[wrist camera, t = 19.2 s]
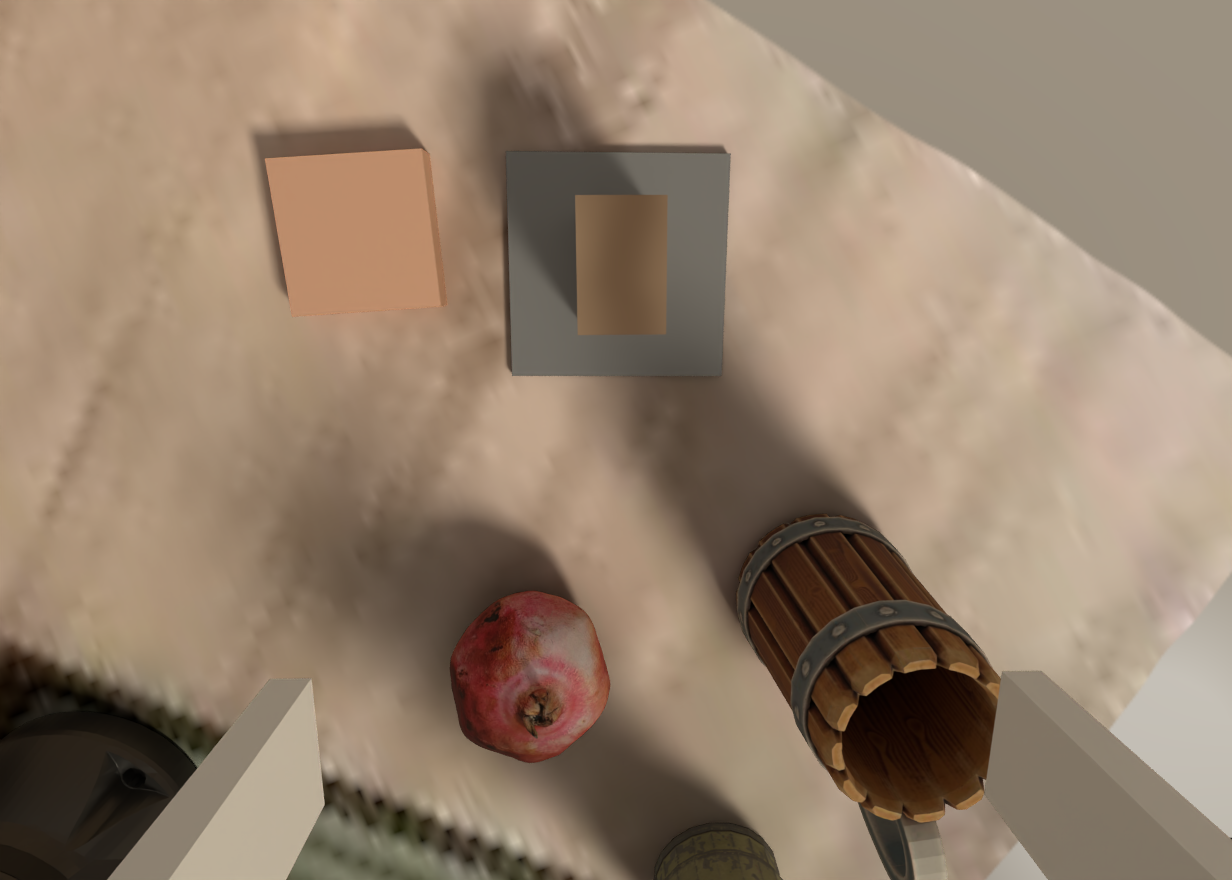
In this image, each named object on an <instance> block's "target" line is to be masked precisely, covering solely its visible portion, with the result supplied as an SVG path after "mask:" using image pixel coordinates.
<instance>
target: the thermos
mask: <svg viewBox="0 0 1232 880" xmlns="http://www.w3.org/2000/svg"><path fill="white" fill-rule="evenodd" d="M654 880H783V879H782V878H781V877H780V874H779V871H778V867H777V864H776V860H775V857H774V854H773V851H772V850H771V849H770V847H769V846H768V845H767V843H766V842H765V841H764V839H763V838H761V837H760V836H758V835H757V834H755V833H754V832H752V831H751V830H749V829H748V828H744V827H741V826H737V825H734V824H730V823H708V824H705V825H701V826H698V827H694V828H690V829H689V830H687V831H685V832H684V833H682V834H680V835H679V836H677V837H675V838H674V839H673V840H672V841H671V842H670V843H669V844H668V845H667V846H666V848H665V849H664V850H663V851H662V852H661V854H660V857H659V859H658V861H657V864H656V866H655V877H654Z"/></svg>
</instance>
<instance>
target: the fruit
mask: <svg viewBox="0 0 1232 880" xmlns="http://www.w3.org/2000/svg"><path fill="white" fill-rule="evenodd" d="M450 674H451V685H452V691H453V695H454V700H455V704H456V709H457V714H458V719H459V724H460V727H461V730H462V732H463V734H464V735H465V736H466V737H467V738H468V739H469V740H470V741H472V742H473V743H475V744H476V745H478V746H480V747H482V748H485V749H488V750H491V751H494V752H497V753H500V754H503V755H506V756H509V757H512V758H515V759H517V760H520V761H523V762H528V763H535V762H540V761H543V760H546V759H549V758H552V757H555V756H557V755H559V754H561V753H562V752H563V751H565V750H566V749H567V748H568V747H569V746H570V745H571V744H572V743H573V742H574V741H576V740H577V739H578V738H579V737H581V736H582V735H583V734H584V733H585V732H586V731H587V730H588V729H589V728H591V727H592V725H593V724H594V723H595V722H596V721H597V719H598V718H599V716H600V715H601V713H602V711H603V709H604V708H605V705H606V703H607V699H608V695H609V690H610V680H609V675H608V671H607V668H606V664H605V660H604V657H603V653H602V650H601V647H600V644H599V640H598V638H597V635H596V631H595V628H594V626H593V623H592V621H591V619H590V618H589V616H588V615H587V614H586V612H585V611H583V610H582V609H581V608H580V607H578V606H577V605H575V604H573V603H571V602H570V601H568V600H566V599H564V598H561V597H559V596H555V595H550V594H546V593H543V592H539V591H525V592H518V593H514V594H511V595H509V596H506V597H503V598H501V599H499V600H497V601H496V602H494V603H493V604H492V605H490V606H489V607H488V608H487V609H486V610H485V611H484V612H482V613H481V614H480V615H479V616H478V617H477V618H476V619H475V620H474V621H473V622H472V623H471V625H470V626H469V627H468V628H467V629H466V631H465V632H464V634H463V635H462V637H461V639H460V640H459V642H458V643H457V645H456V647H455V649H454V651H453V654H452V656H451V662H450Z"/></svg>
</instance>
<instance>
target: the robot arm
mask: <svg viewBox="0 0 1232 880" xmlns="http://www.w3.org/2000/svg"><path fill="white" fill-rule="evenodd" d="M984 795H985V796H986V797H987V799H988V800H989V801H990V803H991V804H992V805H993V807H994V808H995V809H996V811H997V812H998V813H999V815H1000V816H1001V817H1002V819H1003V820H1004V821H1005V823H1006V824H1007V825H1008V827H1009V828H1010V830H1011V831H1012V832H1013V834H1014V835H1015V836H1016V838H1017V839H1018V840H1019V842H1020V843H1021V844H1022V845H1023V847H1024V848H1025V850H1026V851H1027V852H1028V853H1029V855H1030V856H1031V858H1032V859H1033V860H1034V862H1035V863H1036V864H1037V866H1038V867H1039V868H1040V870H1041V871H1042V872H1043V873H1044V875H1045V876H1046V878H1047V879H1048V880H1232V838H1229V837H1228V836H1227V835H1226V834H1225V833H1224V832H1222V831H1221V830H1220V829H1219V828H1218V827H1217V826H1216V825H1215V824H1213V823H1212V822H1211V821H1210V820H1209V819H1208V818H1207V817H1206V816H1204V815H1203V814H1202V813H1201V812H1200V811H1199V810H1198V809H1197V808H1195V807H1194V806H1193V805H1192V804H1191V803H1190V802H1188V800H1186V799H1185V798H1184V797H1183V796H1182V795H1181V794H1180V793H1179V792H1177V791H1176V790H1175V789H1174V788H1173V787H1172V786H1171V785H1169V784H1168V783H1167V782H1166V781H1165V780H1164V779H1163V778H1162V777H1160V776H1159V775H1158V774H1157V773H1156V772H1155V771H1154V770H1153V769H1151V768H1150V767H1149V766H1148V765H1147V764H1146V763H1144V761H1142V760H1141V759H1140V758H1139V757H1138V756H1137V755H1136V754H1134V753H1133V752H1132V751H1131V750H1130V749H1129V748H1128V747H1127V746H1125V745H1124V744H1123V743H1122V742H1121V741H1120V740H1119V739H1118V738H1116V737H1115V736H1114V735H1113V734H1112V733H1111V732H1110V731H1109V730H1107V729H1106V728H1105V727H1104V726H1103V725H1102V724H1101V723H1100V722H1098V721H1097V720H1096V719H1095V718H1094V717H1093V716H1092V715H1091V714H1089V713H1088V712H1087V711H1086V710H1085V709H1084V708H1083V707H1081V706H1080V705H1079V704H1078V703H1077V702H1076V701H1075V700H1074V699H1072V698H1071V697H1070V696H1069V695H1068V694H1067V693H1066V692H1065V691H1063V690H1062V689H1061V688H1060V687H1059V686H1058V685H1057V684H1056V683H1054V682H1053V681H1052V680H1051V679H1050V678H1049V677H1048V676H1047V675H1045V674H1044V673H1043V672H1042V671H1002V675H1001V682H1000V689H999V696H998V703H997V710H996V717H995V724H994V730H993V737H992V744H991V751H990V758H989V765H988V772H987V779H986V785H985V792H984ZM324 805H325V804H324V794H323V784H322V775H321V765H320V755H319V746H318V736H317V726H316V717H315V707H314V698H313V688H312V678H294V679H269V681H268V682H267V683H266V684H265V686H264V687H263V688H262V689H261V690H260V692H259V693H258V694H257V695H256V697H255V698H254V699H253V700H252V702H251V703H250V704H249V705H248V707H247V708H246V709H245V710H244V711H243V713H242V714H241V715H240V716H239V718H238V719H237V720H236V721H235V723H234V724H233V725H232V726H231V727H230V729H229V730H228V731H227V732H226V734H225V735H224V736H223V737H222V739H221V740H220V741H219V742H218V744H217V745H216V746H215V747H214V748H213V750H212V751H211V752H210V753H209V755H208V756H207V757H206V758H205V760H204V761H203V762H202V763H201V765H200V766H199V767H198V768H197V769H196V768H195V767H194V766H193V764H192V763H191V762H190V761H189V759H188V758H187V757H186V756H185V755H184V754H183V753H182V752H181V751H180V750H179V749H178V748H176V747H175V746H174V745H173V744H172V743H170V742H169V741H168V740H166V739H165V738H163V737H162V736H160V735H159V734H157V733H155V732H154V731H152V730H150V729H148V728H146V727H144V726H142V725H140V724H137V723H135V722H133V721H130V720H127V719H124V718H120V717H117V716H113V715H108V714H102V713H95V712H65V713H57V714H52V715H48V716H44V717H41V718H38V719H35V720H32V721H30V722H28V723H26V724H24V725H22V726H20V727H18V728H17V729H15V730H13V731H12V732H11V733H9V734H8V735H7V736H5V737H4V738H3V739H1V740H0V880H286V879H287V877H288V875H289V873H290V871H291V869H292V867H293V865H294V863H295V861H296V859H297V857H298V855H299V853H300V851H301V849H302V847H303V846H304V844H305V842H306V840H307V838H308V836H309V834H310V832H311V830H312V828H313V826H314V824H315V822H316V820H317V818H318V816H319V814H320V812H321V810H322V809H323V807H324Z"/></svg>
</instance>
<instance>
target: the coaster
mask: <svg viewBox="0 0 1232 880" xmlns="http://www.w3.org/2000/svg"><path fill="white" fill-rule="evenodd" d="M730 155H731V154H727V153H634V152H541V151H506V176H507V211H508V247H509V282H510V317H511V353H512V376H722V355H723V330H724V305H725V280H726V255H727V230H728V205H729V180H730ZM575 195H668V206H667V300H666V334H657V335H578V326H577V270H576V214H575Z"/></svg>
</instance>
